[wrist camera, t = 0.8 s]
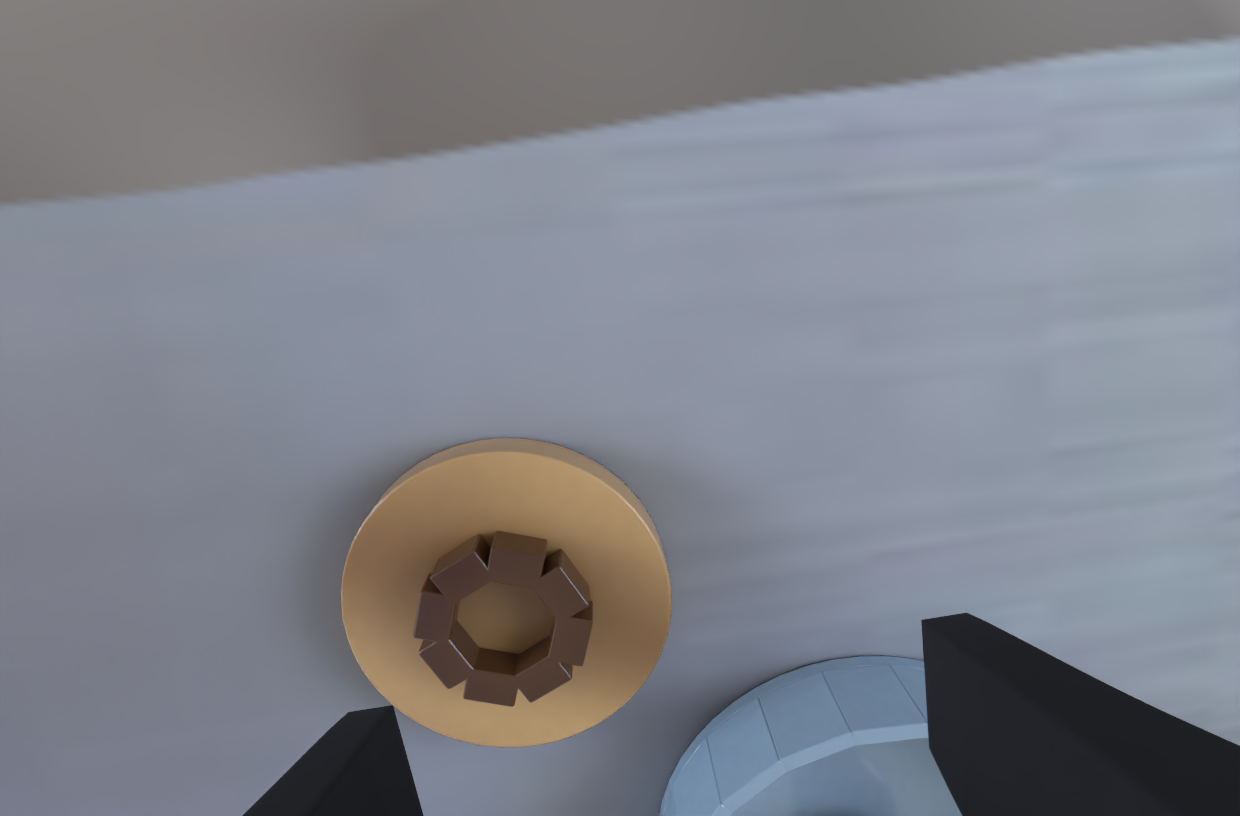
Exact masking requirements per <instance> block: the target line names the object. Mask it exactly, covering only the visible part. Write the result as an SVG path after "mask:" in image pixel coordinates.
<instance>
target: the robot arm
mask: <svg viewBox="0 0 1240 816" xmlns="http://www.w3.org/2000/svg"><path fill="white" fill-rule="evenodd" d="M922 636H923V653H924V670H925V687H926V704H927V721H928V738H929V749H930V751H931V753H932V755H933V757H934V760H935V762H936V764H937V766H938V768H939V770H940V772H941V774H942V776H943V778H944V781H945V783H946V785H947V787H948V789H949V791H950V793H951V795H952V797H953V799H954V801H955V803H956V805H957V807H958V809H959V811H960V813H961V815H962V816H1240V746H1239V745H1237V744H1234V743H1232V742H1230V741H1227V740H1225V739H1223V738H1221V737H1218V736H1216V735H1214V734H1212V733H1210V732H1207V731H1205V730H1203V729H1201V728H1198V727H1196V726H1194V725H1192V724H1190V723H1187V722H1185V721H1183V720H1181V719H1179V718H1176V717H1174V716H1172V715H1170V714H1167V713H1165V712H1163V711H1161V710H1159V709H1157V708H1155V707H1153V706H1151V705H1149V704H1146V703H1144V702H1142V701H1140V700H1138V699H1136V698H1134V697H1132V696H1130V695H1128V694H1126V693H1124V692H1122V691H1120V690H1118V689H1116V688H1114V687H1112V686H1110V685H1108V684H1106V683H1104V682H1102V681H1100V680H1098V679H1096V678H1094V677H1092V676H1090V675H1088V674H1086V673H1084V672H1082V671H1080V670H1078V669H1076V668H1074V667H1072V666H1070V665H1068V664H1066V663H1065V662H1063V661H1061V660H1059V659H1057V658H1055V657H1053V656H1051V655H1049V654H1047V653H1045V652H1043V651H1042V650H1040V649H1038V648H1036V647H1034V646H1032V645H1030V644H1028V643H1026V642H1024V641H1023V640H1021V639H1019V638H1017V637H1015V636H1013V635H1011V634H1009V633H1007V632H1005V631H1003V630H1001V629H999V628H997V627H995V626H993V625H992V624H990V623H987V622H985V621H983V620H981V619H979V618H977V617H975V616H973V615H970V614H968V613H962V614H956V615H950V616H944V617H938V618H931V619H925V620H922ZM243 816H423V813H422V809H421V805H420V802H419V798H418V795H417V791H416V787H415V784H414V780H413V777H412V773H411V769H410V766H409V762H408V759H407V755H406V751H405V748H404V744H403V740H402V737H401V733H400V730H399V726H398V722H397V719H396V715H395V712H394V708H393V705H391V706H385V707H379V708H372V709H366V710H360V711H354V712H348V713H347V714H346V715H345V716H344V717H343V718H342V719H340V720H339V721H338V722H337V723H336V724H335V725H334V726H333V727H332V728H331V729H330V730H328V731H327V732H326V733H325V734H324V735H323V736H322V737H321V738H320V739H319V740H318V741H317V742H316V743H315V744H314V745H313V746H312V747H311V748H310V749H309V750H308V751H307V752H306V753H305V754H304V755H303V756H302V757H301V758H300V759H299V760H298V761H297V762H296V763H295V764H294V765H293V766H292V767H291V768H290V769H289V770H288V771H287V772H286V773H285V774H284V775H283V776H282V777H281V778H280V779H279V780H278V781H277V782H276V783H275V784H274V785H273V786H272V787H271V788H270V789H269V790H268V791H267V792H266V793H265V794H264V795H263V796H262V797H261V798H260V799H259V800H258V801H257V802H256V803H255V804H254V805H253V806H252V807H251V808H250V809H249V810H248V811H247V812H246V813H245V814H244V815H243Z"/></svg>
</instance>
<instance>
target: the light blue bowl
mask: <svg viewBox="0 0 1240 816" xmlns="http://www.w3.org/2000/svg"><path fill="white" fill-rule="evenodd" d="M659 816H962V815H961V813H960V811H959V809H958V807H957V805H956V803H955V801H954V799H953V797H952V795H951V793H950V791H949V789H948V787H947V785H946V783H945V781H944V778H943V776H942V774H941V772H940V770H939V768H938V766H937V764H936V762H935V760H934V757H933V755H932V753H931V751H930V749H929V738H928V721H927V704H926V687H925V670H924V661H920V660H916V659H909V658H901V657H892V656H857V657H849V658H841V659H833V660H828V661H824V662H820V663H816V664H812V665H807V666H804V667H801V668H799V669H796V670H793V671H790V672H788V673H785V674H782V675H779V676H777V677H775V678H773V679H771V680H769V681H767V682H765V683H763V684H761V685H759V686H757V687H755V688H754V689H752V690H751V691H749V692H748V693H746V694H744V695H743V696H741V697H740V698H738V699H737V700H735V701H734V702H732V703H731V704H730V705H729V706H728V707H726V708H725V709H724V710H723V711H722V712H720V713H719V714H718V715H717V716H716V717H714V718H713V719H712V720H711V721H710V722H709V723H708V724H707V726H706V727H705V728H704V729H703V730H702V731H701V732H700V733H699V734H698V735H697V736H696V737H695V739H694V740H693V742H692V743H691V744H690V746H689V747H688V749H687V750H686V751H685V753H684V754H683V755H682V757H681V759H680V761H679V763H678V764H677V766H676V768H675V770H674V772H673V774H672V776H671V778H670V780H669V783H668V786H667V789H666V791H665V794H664V797H663V800H662V805H661V810H660V815H659Z"/></svg>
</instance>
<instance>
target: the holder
mask: <svg viewBox="0 0 1240 816" xmlns="http://www.w3.org/2000/svg"><path fill="white" fill-rule="evenodd" d="M671 604H672V594H671V585H670V577H669V572H668V567H667V562H666V558H665V554H664V550H663V546H662V542H661V539H660V537H659V535H658V532H657V530H656V527H655V525H654V523H653V521H652V519H651V518H650V516H649V514H648V513H647V511H646V509H645V508H644V506H643V505H642V504H641V502H640V501H639V500H638V498H637V497H636V496H635V495H634V493H633V492H632V491H631V490H630V489H629V488H628V487H627V486H626V485H625V484H624V483H623V482H622V481H621V480H620V479H619V478H618V477H616V476H615V475H614V474H612V473H611V472H610V471H608V470H607V469H606V468H604V467H603V466H601V465H600V464H598V463H596V462H595V461H593V460H591V459H589V458H587V457H586V456H584V455H582V454H580V453H577V452H575V451H572V450H570V449H567V448H565V447H562V446H558V445H554V444H550V443H547V442H543V441H537V440H529V439H522V438H494V439H486V440H478V441H473V442H469V443H465V444H461V445H457V446H454V447H451V448H449V449H446V450H444V451H441V452H439V453H436V454H434V455H432V456H431V457H429V458H427V459H425V460H423V461H422V462H420V463H418V464H416V465H415V466H414V467H412V468H411V469H410V470H408V471H407V472H406V473H404V474H403V475H402V476H401V477H400V478H398V479H397V480H396V481H395V482H394V483H393V484H392V485H391V486H390V487H389V488H388V489H387V490H386V492H385V493H384V494H383V496H382V497H381V498H380V500H379V501H378V502H377V504H376V505H375V506H374V507H373V509H372V510H371V512H370V513H369V514H368V516H367V517H366V518H365V520H364V521H363V522H362V524H361V526H360V528H359V530H358V532H357V533H356V535H355V537H354V539H353V541H352V544H351V546H350V549H349V552H348V554H347V557H346V560H345V565H344V570H343V574H342V582H341V609H342V618H343V623H344V627H345V631H346V635H347V639H348V641H349V644H350V646H351V649H352V651H353V654H354V656H355V658H356V660H357V661H358V663H359V665H360V667H361V669H362V670H363V672H364V674H365V675H366V676H367V678H368V679H369V680H370V682H371V683H372V684H373V686H374V687H375V688H376V689H377V690H378V691H379V692H380V693H381V694H382V695H383V696H384V697H385V698H386V699H387V701H388V702H389V703H391V704H392V705H393V706H394V707H396V708H397V709H398V710H399V711H401V712H402V713H403V714H404V715H406V716H407V717H409V718H411V719H412V720H414V721H415V722H417V723H419V724H420V725H422V726H424V727H426V728H428V729H430V730H432V731H435V732H437V733H439V734H441V735H444V736H447V737H450V738H453V739H456V740H459V741H463V742H468V743H472V744H477V745H483V746H493V747H526V746H534V745H542V744H546V743H550V742H555V741H559V740H562V739H565V738H568V737H571V736H573V735H576V734H579V733H581V732H583V731H585V730H587V729H589V728H591V727H593V726H595V725H597V724H599V723H600V722H602V721H603V720H605V719H606V718H608V717H609V716H611V715H612V714H614V713H615V712H616V711H617V710H618V709H620V708H621V707H622V706H623V705H624V704H625V703H627V702H628V701H629V700H630V699H631V698H632V696H633V695H634V694H635V693H636V692H637V691H638V690H639V689H640V688H641V686H642V685H643V684H644V682H645V681H646V679H647V678H648V676H649V675H650V673H651V672H652V670H653V669H654V667H655V665H656V663H657V661H658V659H659V657H660V655H661V653H662V650H663V647H664V644H665V641H666V638H667V635H668V630H669V624H670V619H671Z"/></svg>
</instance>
